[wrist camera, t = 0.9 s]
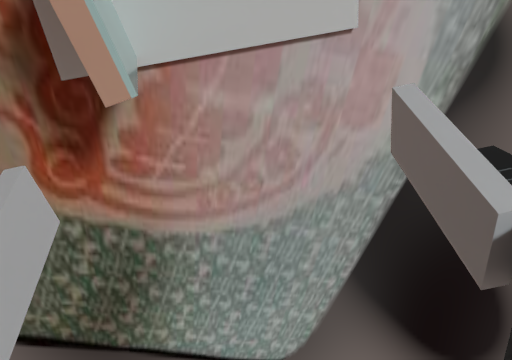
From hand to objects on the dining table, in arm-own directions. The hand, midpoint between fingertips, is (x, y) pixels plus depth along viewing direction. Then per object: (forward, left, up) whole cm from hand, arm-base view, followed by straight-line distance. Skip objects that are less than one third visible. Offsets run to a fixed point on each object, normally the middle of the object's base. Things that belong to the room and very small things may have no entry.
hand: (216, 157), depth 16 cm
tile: (-4, -5, -21) cm, 22 cm away
